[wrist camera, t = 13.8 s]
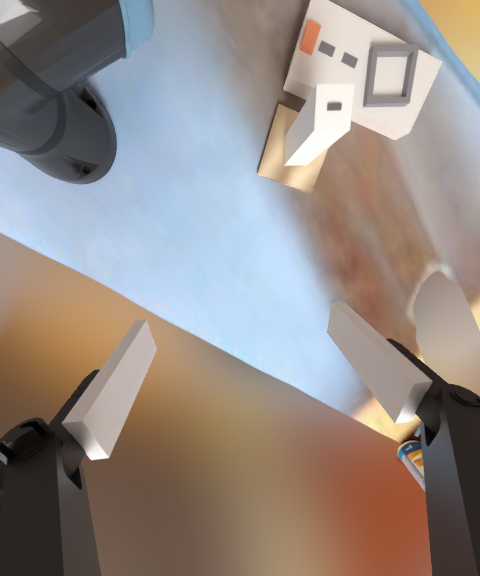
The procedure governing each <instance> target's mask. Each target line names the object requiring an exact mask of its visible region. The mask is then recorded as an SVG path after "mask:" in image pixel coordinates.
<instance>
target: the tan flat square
mask: <svg viewBox="0 0 480 576" xmlns="http://www.w3.org/2000/svg"><path fill="white" fill-rule="evenodd" d="M298 114H299V112H297V111H294V110H292V109H290V108H287V107H285V106H283V105H281V104H278V107H277V110H276V114H275V117H274V120H273V124H272V127H271V130H270V134H269V137H268V140H267V144H266V147H265V150H264V154H263V157H262V160H261V164H260V167H259V170H258V175H261V176H264V177H266V178H269V179H272V180H274V181H277V182H280V183H282V184H285V185H288V186H290V187H293V188H296V189H298V190H301V191H304V192H306V193H309V194H310V193H312V190H313V187H314V185H315V182H316V179H317V177H318V174H319V171H320V169H321V166H322V163H323V161H324V158H325V155H326V153H327V150H328V148H327V149H326V150H325V151H323V152H322V153H321V154H320V155H319V156H317V157H316V158H315V159H314V160H313V161H311V162H310V163H309V164H308V165H293V166H284V137H285V136H286V134H287V132H288V131H289V129H290V128H291V126H292V124H293V123H294V121H295V119H296V118H297V116H298Z"/></svg>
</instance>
